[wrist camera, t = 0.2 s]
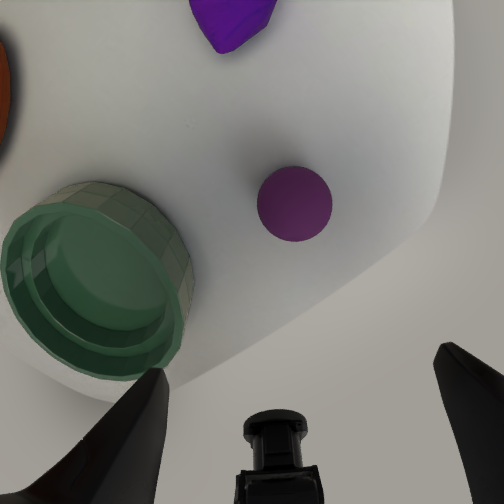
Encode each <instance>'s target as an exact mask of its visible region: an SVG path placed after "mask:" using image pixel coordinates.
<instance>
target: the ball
mask: <svg viewBox="0 0 504 504" xmlns="http://www.w3.org/2000/svg"><path fill="white" fill-rule="evenodd" d="M257 210H258V214H259V217H260V220H261V222H262V223H263V225H264V226H265V227H266V229H267V230H268V231H269V232H270V233H272V234H273V235H274V236H276V237H278V238H280V239H282V240H286V241H291V242H298V241H304V240H308V239H310V238H312V237H314V236H316V235H317V234H318V233H320V232H321V231H322V230H323V229H324V227H325V226H326V225H327V223H328V221H329V219H330V216H331V212H332V196H331V193H330V190H329V188H328V186H327V184H326V183H325V181H324V180H323V179H322V178H321V177H320V176H319V175H318V174H316V173H315V172H313V171H312V170H309V169H307V168H304V167H297V166H292V167H285V168H282V169H279V170H277V171H275V172H274V173H272V174H271V175H270V176H269V177H268V178H267V179H266V180H265V181H264V183H263V184H262V186H261V188H260V190H259V193H258V198H257Z"/></svg>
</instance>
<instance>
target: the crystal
mask: <svg viewBox="0 0 504 504" xmlns="http://www.w3.org/2000/svg"><path fill="white" fill-rule="evenodd" d="M276 2H277V0H189V3H190V7H191V10H192V13H193V15H194V17H195V19H196V21H197V23H198V25H199V27H200V29H201V30H202V32H203V33H204V35H205V36H206V38H207V39H208V41H209V42H210V43H211V45H212V46H213V48H214V49H215V50H216V52H217V53H220V54H225V53H228V52H231V51H234V50H235V49H236V48H238V47H239V46H240V45H242V44H243V43H244V42H246V41H247V40H248V39H250V38H251V37H252V36H254V35H255V34H257V33H258V32H259V31H261V30H262V29H264V28H265V27H266V26H267V24H268V22H269V19H270V17H271V14H272V12H273V9H274V7H275V4H276Z"/></svg>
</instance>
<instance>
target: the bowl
mask: <svg viewBox="0 0 504 504" xmlns="http://www.w3.org/2000/svg"><path fill="white" fill-rule="evenodd" d="M0 271H1V277H2V282H3V287H4V292H5V295H6V297H7V299H8V302H9V304H10V306H11V308H12V310H13V312H14V315H15V316H16V318H17V320H18V321H19V322H20V324H21V325H22V327H23V328H24V329H25V331H26V332H27V333H28V334H29V336H30V337H31V338H32V339H33V340H34V341H35V342H36V343H37V344H38V345H39V346H40V347H41V348H43V349H44V350H45V351H46V352H47V353H48V354H49V355H51V356H52V357H53V358H55V359H56V360H58V361H60V362H61V363H63V364H65V365H66V366H68V367H70V368H72V369H73V370H75V371H77V372H80V373H83V374H86V375H89V376H92V377H95V378H98V379H104V380H113V381H131V380H136V379H139V378H140V377H141V376H142V375H143V374H144V373H145V372H146V371H147V370H148V369H149V368H151V367H156V368H162V369H163V368H165V367H166V366H168V364H169V363H170V361H171V360H172V359H173V357H174V356H175V354H176V353H177V352H178V350H179V349H180V346H181V342H182V338H183V334H184V330H185V326H186V321H187V317H188V313H189V309H190V304H191V299H192V294H193V289H194V280H193V274H192V268H191V261H190V256H189V254H188V252H187V250H186V248H185V247H184V245H183V243H182V241H181V239H180V237H179V235H178V233H177V231H176V229H175V228H174V227H173V226H172V225H171V223H170V222H169V221H168V220H167V219H166V218H165V217H164V216H163V215H162V214H161V213H160V212H159V211H158V210H157V209H156V208H155V207H154V205H152V204H151V203H149V202H147V201H146V200H144V199H142V198H140V197H139V196H137V195H135V194H134V193H132V192H130V191H128V190H127V189H125V188H123V187H118V186H113V185H109V184H104V183H99V182H89V183H83V184H77V185H71V186H67V187H65V188H64V189H62V190H60V191H58V192H57V193H55V194H53V195H52V196H50V197H48V198H47V199H45V200H44V201H42V202H40V203H39V204H37V205H36V206H34V207H33V208H31V209H30V210H28V211H27V212H26V213H24V214H23V215H21V216H20V217H19V218H17V219H16V220H15V221H14V222H13V224H12V226H11V228H10V230H9V231H8V233H7V235H6V237H5V239H4V241H3V245H2V252H1V261H0Z"/></svg>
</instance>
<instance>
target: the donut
mask: <svg viewBox="0 0 504 504" xmlns="http://www.w3.org/2000/svg"><path fill="white" fill-rule="evenodd" d="M9 106H10V71H9V66H8V62H7V57H6V52H5V49H4V47H3V45H2V44H1V42H0V144H1V141H2V138H3V135H4V133H5V130H6V125H7V119H8V112H9Z"/></svg>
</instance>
